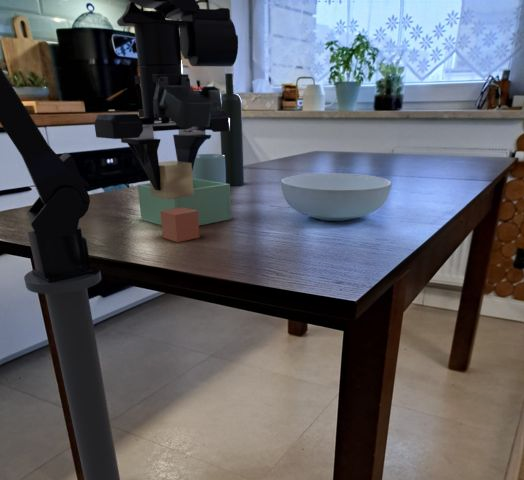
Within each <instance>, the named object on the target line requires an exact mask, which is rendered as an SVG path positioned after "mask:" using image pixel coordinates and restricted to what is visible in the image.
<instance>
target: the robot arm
mask: <svg viewBox="0 0 524 480" xmlns="http://www.w3.org/2000/svg"><path fill="white" fill-rule="evenodd" d="M128 1H129V2H130V3H128V4H127V5H126V8H125V10H124V12H123V14H122V15H121V16H120V17H119V18H118V19H117V21H116V24H117V25H118V26H119V27H130V28H134V30H133V31H134V37H135V38H134V39H135V48H136V56H137V66H138V75H134V82H135V85H140V93H141V94H140V95H141V102H142V108H141V109H139V108H138V113H104V114H102V113H101V114H97V116H96V118H95V119H94V124H93V125H94V131H95V137H96V138H100V139H109V140H110V139H112V140H120V141H121V142H120V143H121V144H127V145H128V147H129V149H130V150H131V151H132V153H133V155H134V156H135V157H136V158H137V160H138V161H139V164H140V165H141V168H142V169H143V171H144V172H145V175H146V177H147V178H148V181H149V183H150V182H151V184H152V185H153V187H154V189H155V190H158V191H159V190H160V189H161V180H160V170H159V162H160V161H159V156H158V150H159V147H160V143H161V139H160V138H155V134H154V132H165V131H178V133H177V134H172V137H173V144H174V149H175V156H176V161H180V162H188V163H191V165H192V170H193V166H194V162H195V159H196V155H197V154H198V153H199V150H200V148H201V146H202V145H203V144H204V143H205V142H206V141H207V140H210V139H211V138H212V134H207V133H206V131H212V132H213V133H218V132H219V133H220V132H222V131H230V122H229V117H228V115H227V114H226V112H225V110H221V104H222V103H221V89H220V88H218V87H216V86H213V85H211V86H209V85H207V86H206V85H205V86H203V87H202V88H201V90H200V89H199V90H195V89H192V86H191V79H190V77H189V74H188V73H187V74H184V73H183V63H182V57H183V59H184V60H188V63H189V64H190V65H191V67H225V66H233V67H234V65H235V63H236V61H237V57H238V53H239V36H238V34H237V31H236V27H235V24H234V22H233V20H232V19H231V10H230V8H228V7H219V8H201V7H200V5H199V3H198V1H197V0H128ZM138 6H139V7H141V8H143V9H151V10H143V9H140V8H139V7H138ZM152 9H153V10H152ZM155 121H156V122H155ZM0 125H1V126H2V128H3V130H4V131H5V133H6V135H7V136H8V137H9V139H10V140H11V142H12V143H13V145H14V146H15V148H16V150H17V151H18V152H19V154H20V156H21V157H22V160H23V162H24V164H25V166H26V169H27V171H28V174H29V176H30V179H31V180H32V183H33V185H34V187H35V190H36V191H37V194H38V196H39V197H38V198H37V199H36V200H35V201H34V202H33V204H32V205H31V207H30V208H29V209H28V210H27V212H26V215H27V217H28V220H29V222H30V225H31V227H32V229H33V230H31V231H28V232H27V236H28V240H29V245H30V250H31V254H32V259H33V263H34V268H33V269H31V271H32V273H33V274H34V275H36V276H38V277H40V278H41V279H43V280H45V281H46V282H48V283H52V282H57V281H61V280H65V279H70V278H74V277H78V276H82V275H87V274H91V273H93V269H91V268H89V266H91V259H90V254H89V248H88V247H89V246H88V242H87V238H86V237H84V236H83V233H82V228H81V227H79V223H80V220H81V219H82V218H83V217H84V216H85V215H86V214H87V212H88V210H89V207H90V203H91V198H90V194H89V192H88V189H87V187H90V183H89V182H87V180H85V179H84V177H83V176H82V175H81V173H80V171H79V169H78V167H77V163H76V161H75V159H74V157H73V156H72V155H71V154H69V153H67V152H64V153H63V154H61V155H58V154H57V153H56V152H55V151H54V149H53V148H51V146H50V145H49V144H48V142H47V140H46V138H45V137H44V135H43V134H42V132H41V130H40V129H39V127H38V125H37V124H36V122H35V121H34V119H33V118H32V116H31V114H30V113H29V111H28V110H27V108H26V106H25V105H24V103H23V101H22V99H21V98H20V96H19V95H18V93H17V91H16V90H15V87H13V84H12V83H11V82H10V80H9V78H8V77H7V75H6V73H5V72H4V70H3V69H2V67H1V66H0Z"/></svg>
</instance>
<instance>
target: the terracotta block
mask: <svg viewBox="0 0 524 480" xmlns="http://www.w3.org/2000/svg"><path fill="white" fill-rule="evenodd" d="M160 214H161V224H162V225H161V232H162V238H163V239H166V240H169V241H173V242H176V243H181V242H186V241H191V240H194V239H199V238H200V237H201V236H200V226H199V221H198V211H197V210H192V209H188V208H184V207H181V208H175V209H169V210H163V211H160Z"/></svg>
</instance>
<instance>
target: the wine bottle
mask: <svg viewBox="0 0 524 480" xmlns="http://www.w3.org/2000/svg"><path fill="white" fill-rule="evenodd" d="M224 76H225V77H224V80H225V93H223V94H222V95H221V103H222V104H221V110H225V112H226V114H227V115H228V117H229V122H230V131H222V132H219V133H220V154H222V155H224V156H225V166H226V184H230V187H239V186H243V185H244V184H245V175H244V170H245V169H244V144H243V142H244V141H243V140H244V138H243V137H244V135H243V109H242V108H243V107H242V105H243V104H242V98H241V96H240V95H239V94H238V93H235V91H234V65H233V66H224Z"/></svg>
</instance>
